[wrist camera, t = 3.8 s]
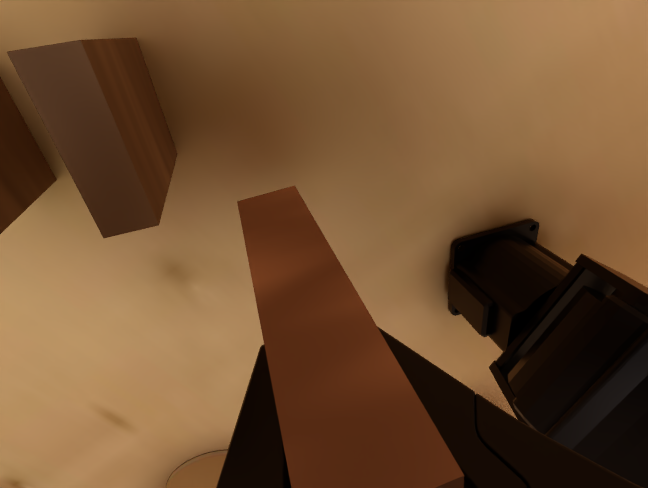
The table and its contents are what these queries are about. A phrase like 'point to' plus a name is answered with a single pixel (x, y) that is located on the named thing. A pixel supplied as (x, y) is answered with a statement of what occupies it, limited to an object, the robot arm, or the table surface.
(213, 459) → the coffee cup
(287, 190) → the domino
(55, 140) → the domino
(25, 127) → the domino
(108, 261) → the table surface
